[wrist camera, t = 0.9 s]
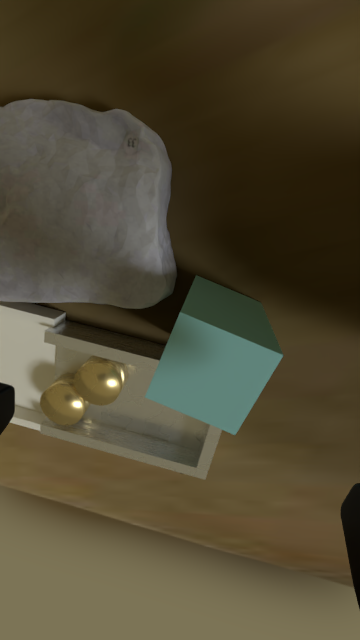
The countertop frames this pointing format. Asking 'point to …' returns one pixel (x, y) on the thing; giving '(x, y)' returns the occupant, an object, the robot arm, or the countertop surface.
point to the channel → (129, 405)
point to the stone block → (83, 207)
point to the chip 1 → (63, 401)
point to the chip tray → (27, 357)
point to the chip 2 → (100, 380)
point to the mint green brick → (216, 357)
